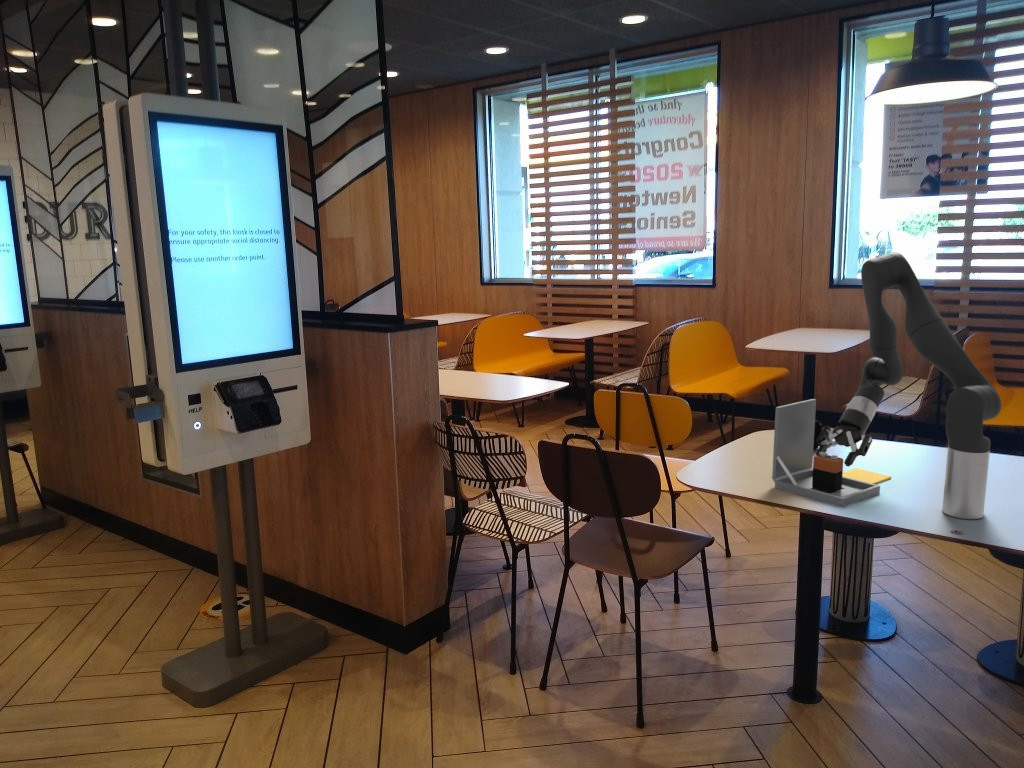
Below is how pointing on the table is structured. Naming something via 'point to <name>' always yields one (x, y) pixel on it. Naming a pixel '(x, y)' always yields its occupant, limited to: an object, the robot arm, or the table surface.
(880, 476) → the yellow sticky note
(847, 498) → the equipment case
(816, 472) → the battery
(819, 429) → the cpu cooler
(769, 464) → the table surface
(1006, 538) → the table surface
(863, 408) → the robot arm
